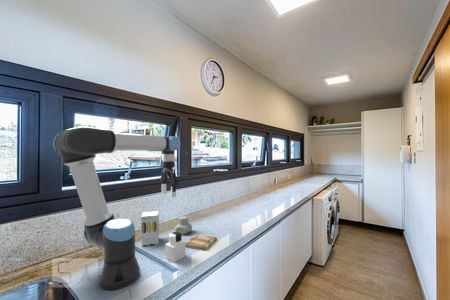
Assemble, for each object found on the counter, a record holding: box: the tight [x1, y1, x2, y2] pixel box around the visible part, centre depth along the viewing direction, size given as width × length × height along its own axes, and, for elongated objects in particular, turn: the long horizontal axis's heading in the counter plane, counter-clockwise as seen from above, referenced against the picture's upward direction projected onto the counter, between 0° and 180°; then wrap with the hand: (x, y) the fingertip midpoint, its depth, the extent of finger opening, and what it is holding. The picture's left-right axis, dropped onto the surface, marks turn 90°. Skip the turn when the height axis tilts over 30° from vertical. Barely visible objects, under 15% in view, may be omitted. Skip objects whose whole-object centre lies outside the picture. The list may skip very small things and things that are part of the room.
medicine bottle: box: [165, 231, 187, 263], centre depth 101 cm, size 7×7×12 cm
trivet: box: [184, 233, 217, 252], centre depth 116 cm, size 14×14×2 cm
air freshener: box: [174, 215, 193, 236], centre depth 132 cm, size 11×8×10 cm
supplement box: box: [140, 210, 160, 246], centre depth 119 cm, size 10×9×17 cm
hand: (168, 195), depth 124 cm, fingers open, 13 cm apart
